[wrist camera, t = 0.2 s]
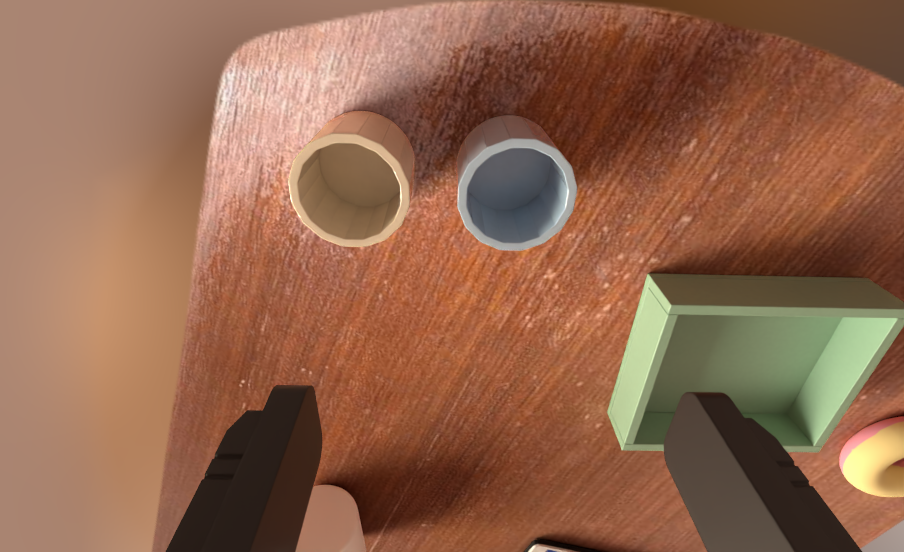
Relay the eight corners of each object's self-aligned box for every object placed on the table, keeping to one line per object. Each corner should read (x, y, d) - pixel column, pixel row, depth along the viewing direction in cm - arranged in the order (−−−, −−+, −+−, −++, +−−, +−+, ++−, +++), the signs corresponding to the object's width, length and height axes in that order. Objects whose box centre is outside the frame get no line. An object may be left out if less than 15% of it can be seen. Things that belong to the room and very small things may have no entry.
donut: (865, 385, 43) (805, 459, 46) (906, 416, 39) (837, 495, 42) (961, 420, 43) (895, 491, 47) (1013, 455, 39) (936, 530, 42)
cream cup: (307, 108, 28) (279, 131, 23) (414, 112, 28) (408, 135, 23) (320, 208, 31) (297, 245, 26) (415, 210, 31) (410, 248, 26)
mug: (364, 482, 46) (350, 566, 39) (374, 538, 51) (363, 621, 44) (244, 485, 46) (209, 569, 39) (266, 540, 51) (239, 623, 44)
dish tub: (647, 273, 34) (670, 304, 30) (867, 277, 34) (915, 309, 31) (606, 412, 41) (621, 450, 38) (787, 414, 42) (818, 452, 38)
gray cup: (457, 113, 28) (460, 136, 23) (562, 116, 28) (586, 140, 23) (454, 211, 31) (455, 249, 26) (548, 213, 31) (566, 251, 27)
